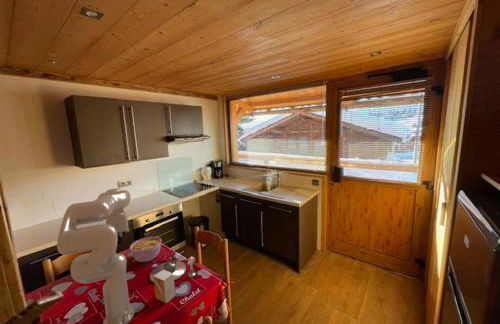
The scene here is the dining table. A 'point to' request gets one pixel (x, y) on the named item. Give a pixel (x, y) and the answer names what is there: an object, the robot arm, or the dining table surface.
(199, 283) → the dining table surface
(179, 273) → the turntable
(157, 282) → the small box
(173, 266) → the cover
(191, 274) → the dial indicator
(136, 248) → the bowl of food
